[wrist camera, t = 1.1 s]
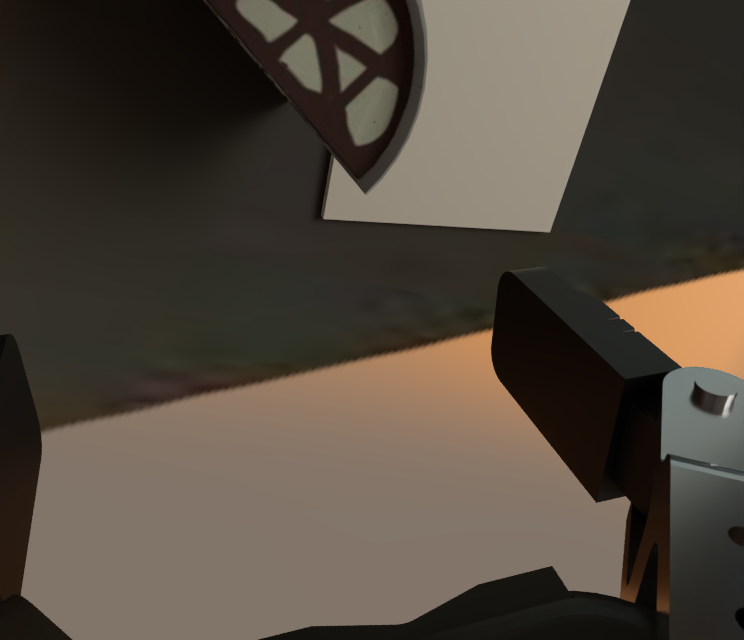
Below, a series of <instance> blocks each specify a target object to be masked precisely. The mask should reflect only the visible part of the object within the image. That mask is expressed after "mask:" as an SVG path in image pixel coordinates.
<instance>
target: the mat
mask: <svg viewBox="0 0 744 640" xmlns="http://www.w3.org/2000/svg"><path fill="white" fill-rule="evenodd" d="M629 2H630V0H422V5H423V10H424V16H425V21H426V27H427V45H428V62H427V72H426V82H425V90H424V94H423V98H422V102H421V107H420V111H419V115H418V117H417V120H416V122H415V125H414V127H413V130H412V132H411V135H410V137H409V139H408V141H407V143H406V145H405V146H404V148H403V150H402V152H401V154H400V155H399V157H398V159H397V160H396V162H395V163H394V164H393V166H392V167H391V168H390V170H389V171H388V172H387V174H386V175H385V176H384V178H383V179H382V180H381V181H380V182H379V183H378V184H377V185H376V186H375V187H374V188H373V189H372V190H371V191H370V192H369V193H368V194H367V195H365V194H364V193H363V191H362V190H361V189H360V188H359V187H358V185H357V184H356V183H355V182H354V180H353V179H352V178H351V177H350V176H349V174H348V173H347V172H346V171H345V170H344V168H343V167H342V166H341V165H340V163H339V162H338V161H337V160H336V159H335V157H334V156H333V155H332V154H331V160H330V165H329V171H328V177H327V183H326V188H325V194H324V200H323V206H322V211H321V216H322V218H323V219H332V220H349V221H366V222H383V223H400V224H418V225H435V226H452V227H469V228H486V229H503V230H520V231H537V232H550V230H551V227H552V224H553V222H554V219H555V216H556V213H557V210H558V207H559V204H560V201H561V199H562V196H563V193H564V190H565V187H566V184H567V181H568V178H569V175H570V173H571V170H572V167H573V164H574V161H575V158H576V155H577V152H578V149H579V147H580V144H581V141H582V138H583V135H584V132H585V129H586V126H587V124H588V121H589V118H590V115H591V112H592V109H593V106H594V103H595V100H596V98H597V95H598V92H599V89H600V86H601V83H602V80H603V77H604V75H605V72H606V69H607V66H608V63H609V60H610V57H611V54H612V51H613V49H614V46H615V43H616V40H617V37H618V34H619V31H620V28H621V25H622V23H623V20H624V17H625V14H626V11H627V8H628V5H629Z"/></svg>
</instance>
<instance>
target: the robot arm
mask: <svg viewBox="0 0 744 640" xmlns="http://www.w3.org/2000/svg"><path fill="white" fill-rule="evenodd" d="M491 355H492V362H493V366H494V370H495V372H496V375H497V377H498V379H499V380H500V382H501V383H502V384H503V385H504V386H505V388H506V389H507V390H508V392H509V393H510V394H511V395H512V397H513V398H514V399H515V400H516V402H517V403H518V404H519V405H520V407H521V408H522V409H523V411H524V412H525V413H526V414H527V415H528V417H529V418H530V419H531V421H532V422H533V423H534V424H535V426H536V427H537V428H538V430H539V431H540V432H541V433H542V434H543V436H544V437H545V438H546V440H547V441H548V442H549V443H550V445H551V446H552V447H553V448H554V450H555V451H556V452H557V454H558V455H559V456H560V457H561V459H562V460H563V461H564V462H565V464H566V465H567V466H568V467H569V469H570V470H571V471H572V473H574V475H575V476H576V477H577V479H578V480H579V481H580V483H581V484H582V485H583V486H584V488H585V489H586V490H587V491H588V493H589V494H590V495H591V496H592V498H593V499H594V500H595V501H596V503H597V502H601V501H606V500H610V499H614V498H619V497H623V496H626V497H627V498H628V499H629V500H630V501H631V504H630V508H629V511H628V515H627V520H626V531H625V544H624V556H623V568H622V580H621V592H620V598H617V597H612V596H608V595H603V594H598V593H590V592H580V591H568V590H567V588H566V587H565V585H564V583H563V582H562V580H561V579H560V577H559V576H558V574H557V573H556V571H555V570H554V569H553V567H552V566H551V567H546V568H542V569H539V570H535V571H531V572H526V573H523V574H518V575H514V576H510V577H507V578H503V579H499V580H495V581H491V582H487V583H483V584H479V585H477V586H475V587H473V588H471V589H469V590H468V591H466V592H464V593H462V594H460V595H458V596H457V597H455V598H453V599H451V600H450V601H448V602H446V603H444V604H442V605H440V606H439V607H437V608H435V609H433V610H431V611H429V612H427V613H426V614H424V615H422V616H420V617H419V618H417V619H415V620H413V621H411V622H408V623H404V624H399V625H358V626H311V627H307V628H303V629H299V630H295V631H291V632H287V633H283V634H280V635H275V636H271V637H268V638H263V639H259V640H744V380H742V379H740V378H738V377H736V376H734V375H731V374H729V373H726V372H722V371H719V370H715V369H710V368H704V367H685V368H682V367H681V366H679V365H678V364H677V363H676V362H675V361H673V360H672V359H671V358H670V357H668V356H667V355H666V354H665V353H663V352H662V351H661V350H660V349H659V348H658V347H656V346H655V345H654V344H653V343H652V342H650V341H649V340H648V339H646V338H645V337H644V336H643V335H642V334H641V333H639V332H635V330H634V328H633V327H632V326H631V325H630V324H629V323H627V322H626V321H625V320H624V319H620V317H619V315H618V314H616V313H615V312H614V311H613V310H612V309H610V308H609V307H608V306H607V305H606V304H604V303H603V302H602V301H600V300H598V299H596V298H594V297H591V296H589V295H587V294H585V293H583V292H580V291H578V290H576V289H572V288H571V287H570V286H569V285H568V284H567V283H565V282H564V281H563V280H562V279H561V278H560V277H558V276H557V275H556V274H555V273H554V272H553V271H551V270H550V269H549V268H547V267H537V268H530V269H522V270H514V271H507V272H505V273H503V275H502V276H501V278H500V281H499V285H498V292H497V301H496V310H495V318H494V327H493V336H492V345H491ZM41 454H42V442H41V431H40V425H39V420H38V416H37V412H36V408H35V405H34V401H33V398H32V394H31V391H30V387H29V384H28V380H27V376H26V373H25V369H24V366H23V362H22V359H21V355H20V352H19V348H18V345H17V342H16V340H15V338H14V337H13V335H11V334H6V335H0V640H72V639H71V638H70V637H69V636H68V635H67V634H65V633H64V632H63V631H62V630H61V629H60V628H58V626H56V625H55V624H54V623H53V622H52V621H51V620H50V619H49V618H47V617H46V616H45V615H44V614H43V613H42V612H41V611H40V610H38V609H37V608H36V607H35V606H34V605H33V604H32V603H30V602H29V601H28V600H26V599H25V598H23V597H22V596H20V595H21V589H22V582H23V575H24V568H25V562H26V555H27V548H28V542H29V536H30V529H31V522H32V516H33V509H34V502H35V496H36V489H37V482H38V476H39V469H40V463H41Z"/></svg>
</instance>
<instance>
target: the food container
mask: <svg viewBox="0 0 744 640" xmlns="http://www.w3.org/2000/svg"><path fill="white" fill-rule="evenodd" d="M203 1H204V2H205V3H206V4H207V6H208V7H209V8H210V9H211V10H212V12H213V13H214V14H215V15H216V16H217V17H218V19H219V20H220V21H221V22H222V23H223V25H224V26H225V27H226V28H227V29H228V30H229V32H230V33H231V34H232V35H233V36H234V38H235V39H236V40H237V41H238V42H239V43H240V45H241V46H242V47H243V48H244V49H245V51H246V52H247V53H248V54H249V55H250V56H251V58H252V59H253V60H254V61H255V62H256V64H257V65H258V66H259V67H260V68H261V69H262V71H263V72H264V73H265V74H266V75H267V77H268V78H269V79H270V80H271V81H272V84H274V85H275V86H276V87H277V88H278V90H279V91H280V92H281V93H282V94H283V96H284V97H285V99H286V100H288V101H289V103H290V104H291V105H292V106H293V108H294V109H295V110H296V111H297V112H298V114H299V115H300V116H301V117H302V118H303V120H304V121H305V122H306V123H307V125H308V126H309V127H310V128H311V129H312V131H313V132H314V133H315V134H316V136H317V137H318V138H319V139H320V140H321V142H322V143H323V144H324V145H325V146H326V148H327V149H328V150H329V151H330V153H331V154H332V155H333V156H334V157H335V159H336V160H337V161H338V162H339V163H340V165H341V166H342V167H343V168H344V170H345V171H346V172H347V173H348V174H349V176H350V177H351V178H352V179H353V180H354V182H355V183H356V184H357V185H358V187H359V188H360V189H361V190H362V191H363V193H364V194H365V195H367V194H368V193H369V192H370V191H371V190H372V189H373V188H374V187H375V186H376V185H377V184H378V183H379V182H380V181H381V180H382V179H383V178H384V176H385V175H386V174H387V172H388V171H389V170H390V168H391V167H392V166H393V164H394V163H395V162H396V160H397V159H398V157H399V155H400V154H401V152H402V150H403V148H404V146H405V145H406V143H407V141H408V139H409V137H410V135H411V132H412V130H413V127H414V125H415V122H416V120H417V117H418V115H419V111H420V107H421V102H422V98H423V94H424V90H425V82H426V72H427V62H428V45H427V27H426V21H425V16H424V10H423V5H422V0H203Z"/></svg>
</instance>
